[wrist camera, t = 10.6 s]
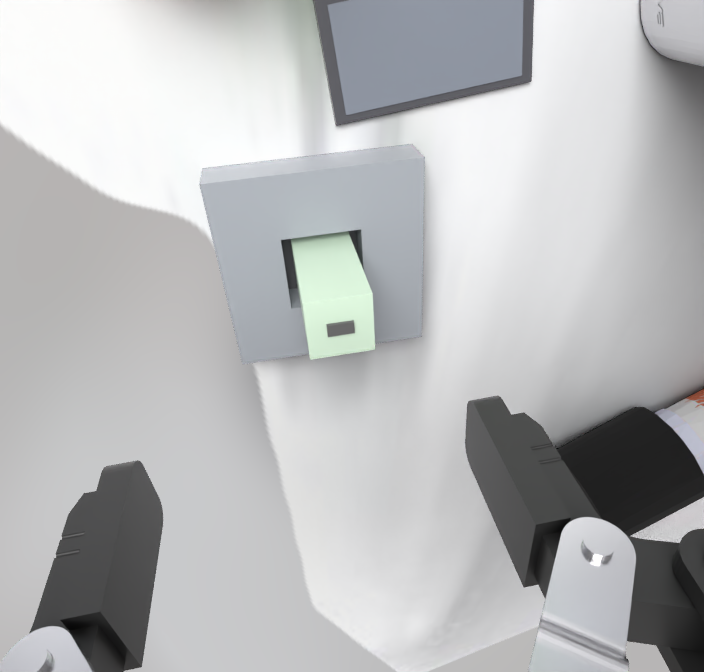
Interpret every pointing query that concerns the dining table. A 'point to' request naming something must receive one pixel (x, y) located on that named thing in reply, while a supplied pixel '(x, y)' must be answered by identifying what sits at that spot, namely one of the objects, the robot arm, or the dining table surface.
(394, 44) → the panel
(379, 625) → the dining table surface
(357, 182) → the plate
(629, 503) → the bottle
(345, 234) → the block
